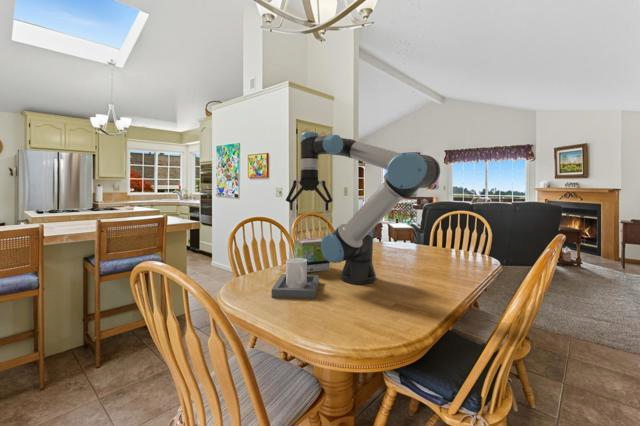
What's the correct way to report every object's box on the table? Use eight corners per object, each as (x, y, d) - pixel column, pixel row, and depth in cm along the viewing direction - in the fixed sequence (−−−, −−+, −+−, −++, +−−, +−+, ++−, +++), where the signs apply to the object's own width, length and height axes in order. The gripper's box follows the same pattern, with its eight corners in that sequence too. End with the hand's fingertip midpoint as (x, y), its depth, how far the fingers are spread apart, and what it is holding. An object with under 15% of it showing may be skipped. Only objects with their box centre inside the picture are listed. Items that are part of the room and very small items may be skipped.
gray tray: (318, 282, 139) (319, 275, 139) (314, 298, 119) (314, 290, 119) (281, 281, 140) (281, 274, 140) (271, 297, 120) (271, 289, 120)
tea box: (302, 274, 151) (302, 242, 150) (293, 268, 160) (293, 239, 159) (330, 270, 158) (330, 240, 157) (320, 265, 167) (321, 237, 166)
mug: (313, 290, 125) (313, 263, 124) (293, 292, 122) (293, 265, 121) (302, 281, 136) (302, 257, 135) (283, 283, 133) (283, 258, 132)
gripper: (338, 169, 144) (337, 217, 145) (282, 169, 145) (282, 216, 147) (338, 169, 136) (337, 219, 138) (279, 168, 138) (279, 218, 140)
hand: (309, 218), depth 143 cm, fingers open, 13 cm apart
